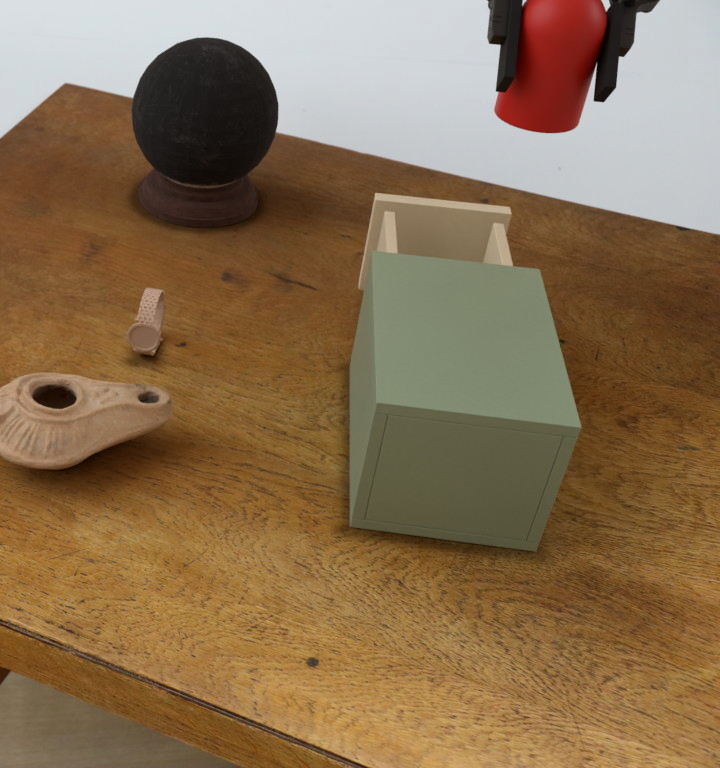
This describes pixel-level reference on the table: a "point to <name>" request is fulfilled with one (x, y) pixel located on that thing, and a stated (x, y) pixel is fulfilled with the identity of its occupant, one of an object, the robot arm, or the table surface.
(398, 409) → the cabinet
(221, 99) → the black ball on stand
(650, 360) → the table surface
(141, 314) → the wristwatch
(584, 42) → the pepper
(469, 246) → the drawer
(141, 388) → the pottery oil lamp
